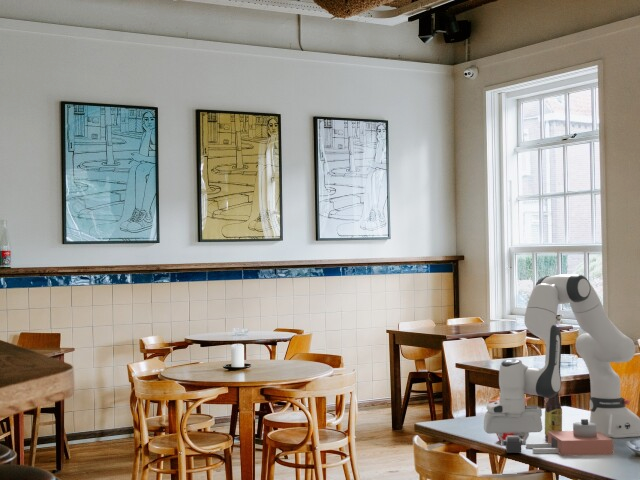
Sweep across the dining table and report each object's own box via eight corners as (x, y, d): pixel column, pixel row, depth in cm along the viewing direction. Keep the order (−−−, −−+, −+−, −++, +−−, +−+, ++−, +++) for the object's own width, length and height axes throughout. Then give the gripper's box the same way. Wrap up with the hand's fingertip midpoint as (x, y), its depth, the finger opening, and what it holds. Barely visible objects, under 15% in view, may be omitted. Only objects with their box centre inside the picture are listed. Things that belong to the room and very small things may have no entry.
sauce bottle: (553, 442, 305) (552, 388, 306) (541, 439, 311) (540, 386, 311) (566, 440, 308) (565, 387, 309) (554, 437, 314) (553, 385, 314)
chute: (505, 446, 294) (505, 433, 294) (520, 446, 293) (519, 433, 293) (506, 452, 285) (506, 439, 286) (521, 452, 285) (521, 439, 285)
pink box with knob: (596, 444, 301) (595, 415, 301) (613, 454, 285) (612, 423, 285) (523, 445, 300) (523, 416, 300) (536, 455, 284) (535, 424, 284)
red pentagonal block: (511, 430, 301) (512, 418, 309) (493, 432, 304) (494, 421, 311) (516, 446, 303) (517, 434, 310) (498, 448, 305) (499, 436, 313)
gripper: (538, 403, 293) (539, 442, 292) (482, 405, 292) (483, 444, 292) (544, 406, 286) (545, 446, 286) (486, 408, 286) (487, 448, 286)
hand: (513, 445), depth 289 cm, fingers closed on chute, 5 cm apart
